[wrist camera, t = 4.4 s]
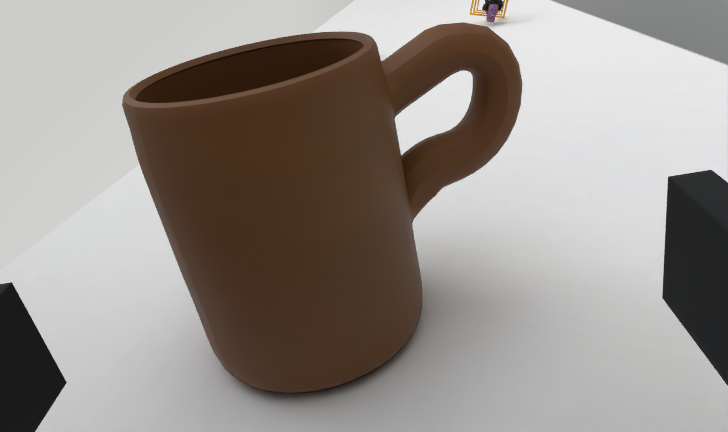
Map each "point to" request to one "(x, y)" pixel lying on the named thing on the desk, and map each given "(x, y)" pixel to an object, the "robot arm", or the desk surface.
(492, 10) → the purple figurine with frame
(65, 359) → the desk surface
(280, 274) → the mug
